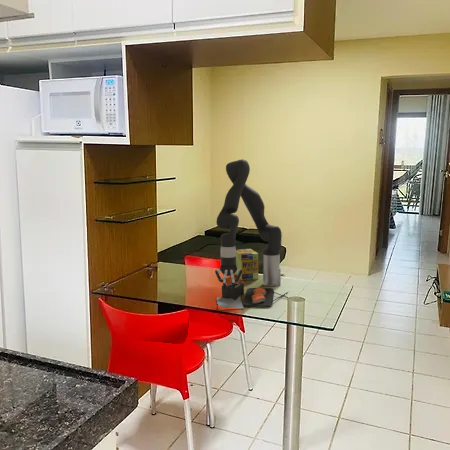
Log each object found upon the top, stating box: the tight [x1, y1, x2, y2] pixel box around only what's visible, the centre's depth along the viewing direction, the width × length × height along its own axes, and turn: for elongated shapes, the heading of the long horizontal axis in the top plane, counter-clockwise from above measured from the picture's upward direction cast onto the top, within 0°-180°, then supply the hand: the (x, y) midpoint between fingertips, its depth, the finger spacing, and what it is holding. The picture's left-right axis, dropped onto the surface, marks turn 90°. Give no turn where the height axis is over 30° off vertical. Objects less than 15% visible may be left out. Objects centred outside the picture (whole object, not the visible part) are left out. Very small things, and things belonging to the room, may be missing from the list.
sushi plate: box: [242, 287, 289, 307], centre depth 231 cm, size 29×30×4 cm
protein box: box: [234, 248, 259, 282], centre depth 273 cm, size 10×15×16 cm
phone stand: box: [221, 282, 245, 300], centre depth 235 cm, size 9×6×12 cm
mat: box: [215, 296, 245, 310], centre depth 224 cm, size 12×18×1 cm, turn 4°
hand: (228, 289), depth 223 cm, fingers open, 3 cm apart
